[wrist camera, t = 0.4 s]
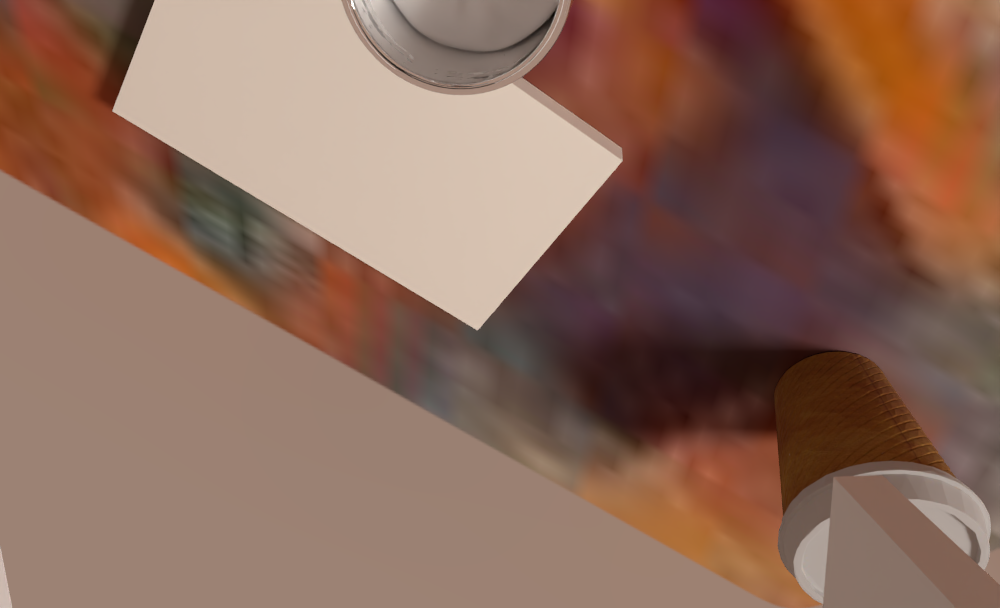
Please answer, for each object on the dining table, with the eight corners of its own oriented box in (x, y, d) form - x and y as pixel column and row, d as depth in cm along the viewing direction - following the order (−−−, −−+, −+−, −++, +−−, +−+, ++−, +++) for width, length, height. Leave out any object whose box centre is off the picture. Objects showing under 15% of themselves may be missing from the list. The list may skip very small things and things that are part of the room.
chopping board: (126, 100, 41) (112, 111, 40) (219, -136, 34) (205, -132, 33) (481, 315, 46) (477, 330, 45) (622, 148, 39) (622, 160, 38)
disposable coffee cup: (815, 472, 51) (867, 645, 41) (712, 393, 48) (740, 558, 38) (951, 391, 46) (1046, 564, 36) (845, 298, 43) (916, 458, 33)
